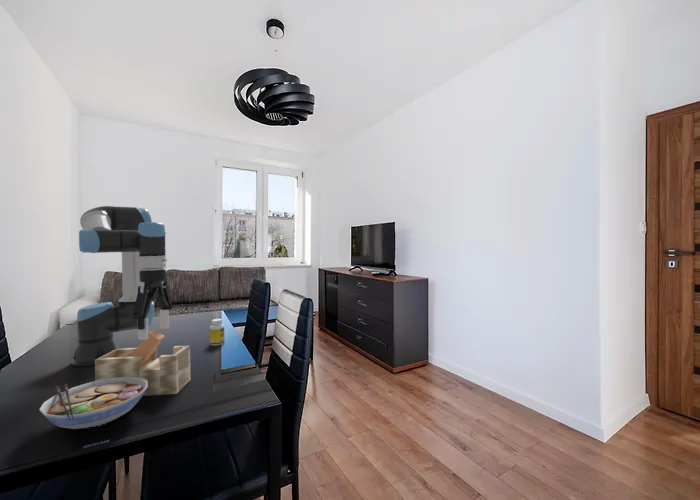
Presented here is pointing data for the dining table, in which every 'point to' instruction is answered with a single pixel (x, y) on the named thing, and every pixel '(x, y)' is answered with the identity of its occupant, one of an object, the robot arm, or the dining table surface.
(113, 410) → the ramen bowl
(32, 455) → the dining table surface
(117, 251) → the robot arm
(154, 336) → the tan block
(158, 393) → the box
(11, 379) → the dining table surface
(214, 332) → the pill bottle
